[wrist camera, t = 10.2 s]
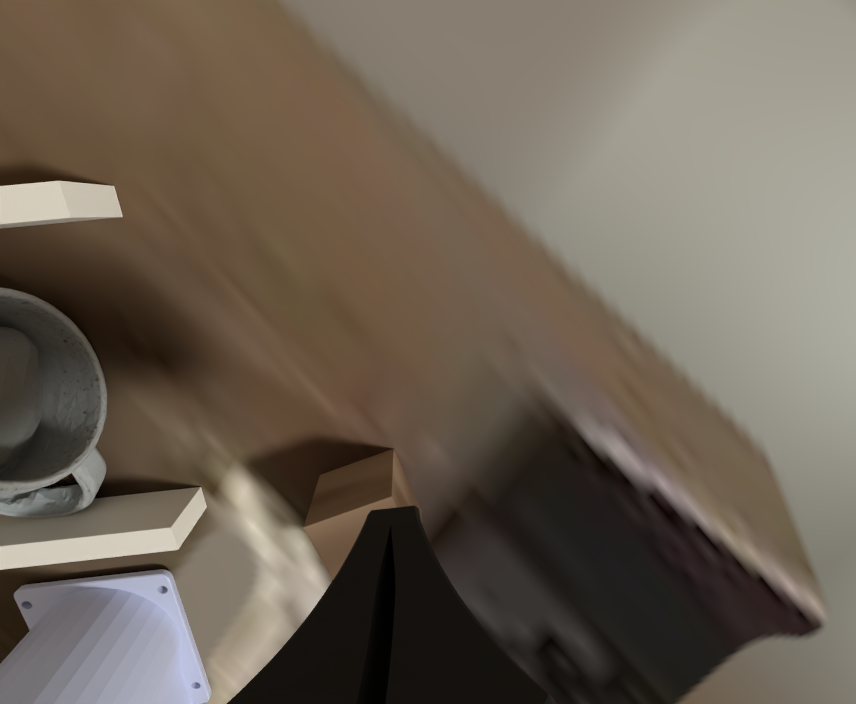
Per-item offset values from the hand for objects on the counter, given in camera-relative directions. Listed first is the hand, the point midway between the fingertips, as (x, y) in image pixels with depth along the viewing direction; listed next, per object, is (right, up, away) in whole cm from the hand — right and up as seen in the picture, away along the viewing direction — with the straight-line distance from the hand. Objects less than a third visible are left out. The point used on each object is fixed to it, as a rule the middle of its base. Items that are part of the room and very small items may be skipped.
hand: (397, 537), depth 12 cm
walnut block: (-2, -2, +11) cm, 11 cm away
